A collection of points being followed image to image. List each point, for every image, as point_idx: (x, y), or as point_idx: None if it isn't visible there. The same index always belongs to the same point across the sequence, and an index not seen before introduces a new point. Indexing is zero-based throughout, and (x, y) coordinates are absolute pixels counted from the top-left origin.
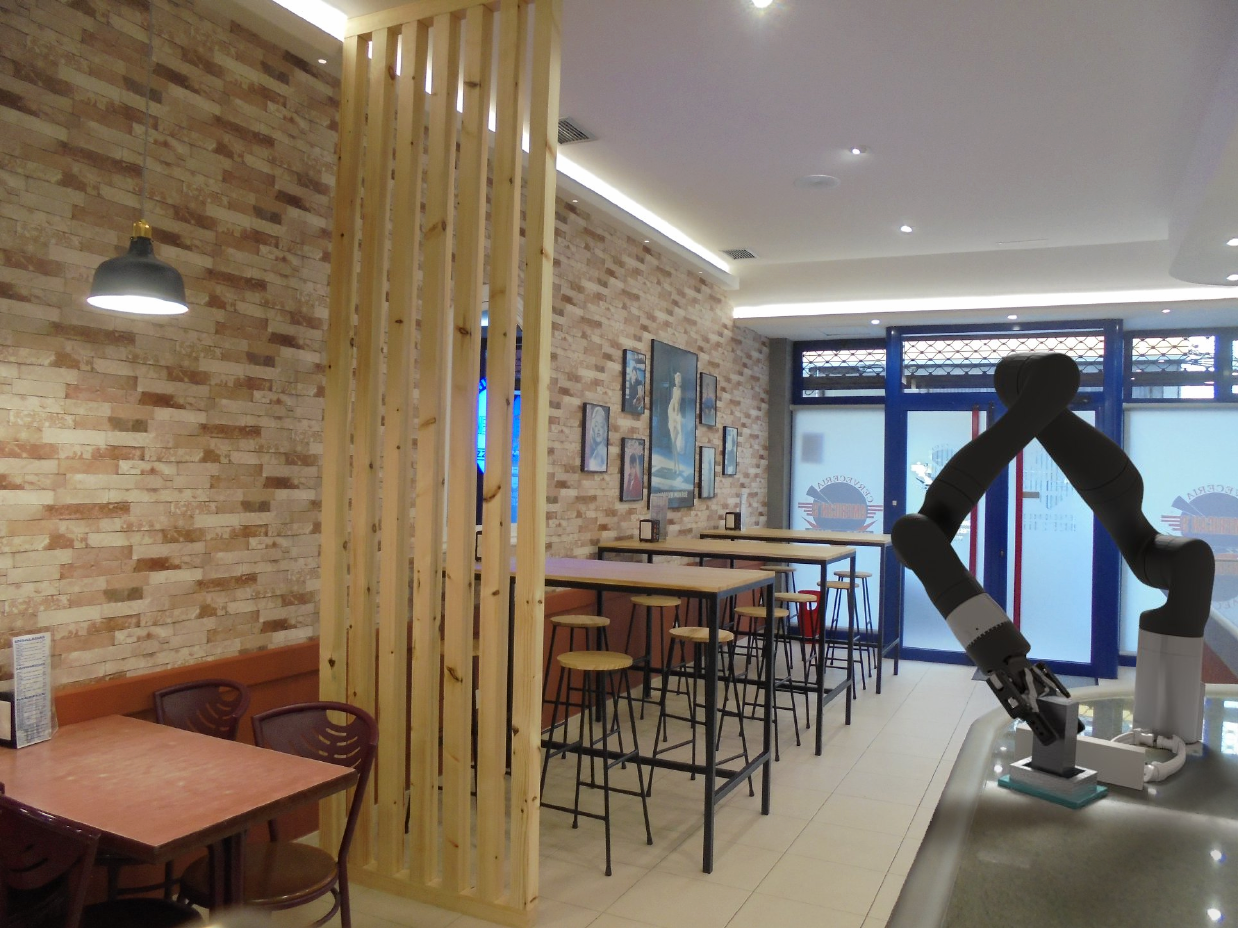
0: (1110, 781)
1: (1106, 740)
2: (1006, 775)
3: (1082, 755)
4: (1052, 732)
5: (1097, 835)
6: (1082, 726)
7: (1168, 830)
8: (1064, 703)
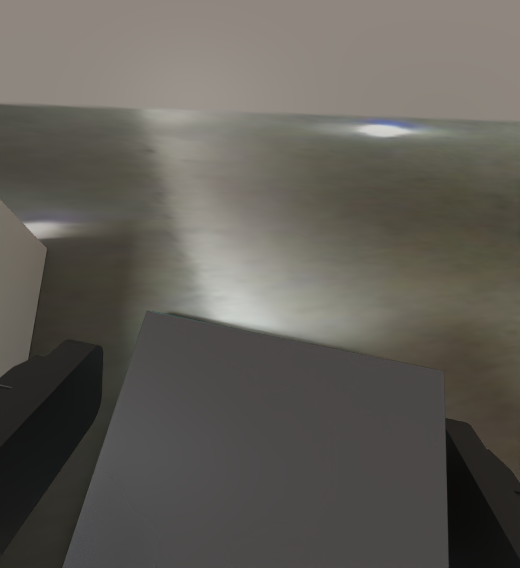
0: (30, 321)
1: None
2: None
3: None
4: (480, 448)
5: (492, 296)
6: (92, 349)
7: (324, 190)
8: (378, 409)
